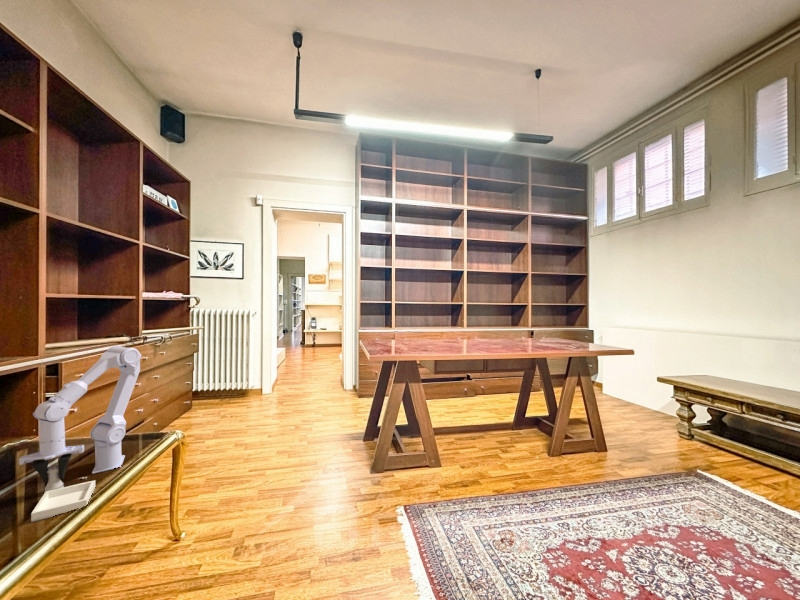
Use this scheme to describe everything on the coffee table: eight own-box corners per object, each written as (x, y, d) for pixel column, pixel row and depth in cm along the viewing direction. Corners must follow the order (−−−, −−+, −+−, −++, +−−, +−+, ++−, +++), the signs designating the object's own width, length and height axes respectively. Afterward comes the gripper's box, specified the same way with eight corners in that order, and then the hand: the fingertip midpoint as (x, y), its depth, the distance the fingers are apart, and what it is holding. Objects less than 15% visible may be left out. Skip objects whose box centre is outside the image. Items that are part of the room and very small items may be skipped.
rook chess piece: (63, 484, 110) (62, 461, 110) (64, 490, 107) (63, 466, 107) (43, 490, 107) (43, 467, 107) (44, 497, 104) (43, 472, 104)
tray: (46, 499, 103) (45, 491, 103) (95, 487, 110) (95, 480, 109) (31, 522, 94) (31, 513, 93) (86, 507, 100) (86, 499, 100)
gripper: (13, 449, 99) (15, 493, 100) (79, 438, 107) (81, 478, 108) (23, 439, 105) (25, 481, 106) (85, 429, 113) (86, 467, 114)
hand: (53, 479), depth 107 cm, fingers closed on rook chess piece, 3 cm apart
